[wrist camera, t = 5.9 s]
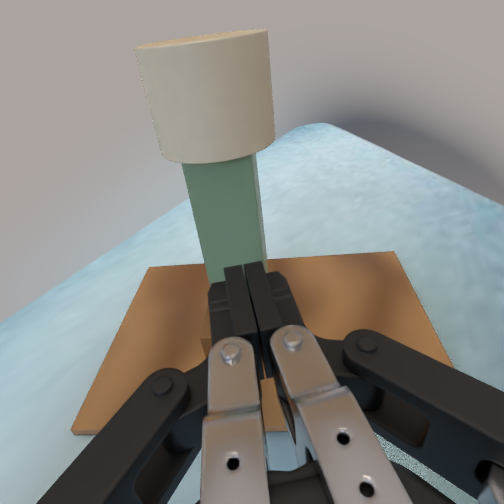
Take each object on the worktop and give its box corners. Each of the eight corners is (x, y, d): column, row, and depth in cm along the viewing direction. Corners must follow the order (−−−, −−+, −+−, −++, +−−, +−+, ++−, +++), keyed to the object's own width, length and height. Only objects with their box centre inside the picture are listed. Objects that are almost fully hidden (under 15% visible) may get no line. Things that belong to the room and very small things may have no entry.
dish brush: (204, 368, 20) (112, 51, 11) (215, 308, 24) (154, 41, 16) (291, 365, 20) (266, 31, 11) (288, 304, 24) (267, 26, 15)
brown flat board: (73, 435, 18) (69, 430, 18) (150, 271, 30) (148, 266, 30) (480, 428, 16) (483, 422, 16) (393, 256, 28) (394, 250, 28)
